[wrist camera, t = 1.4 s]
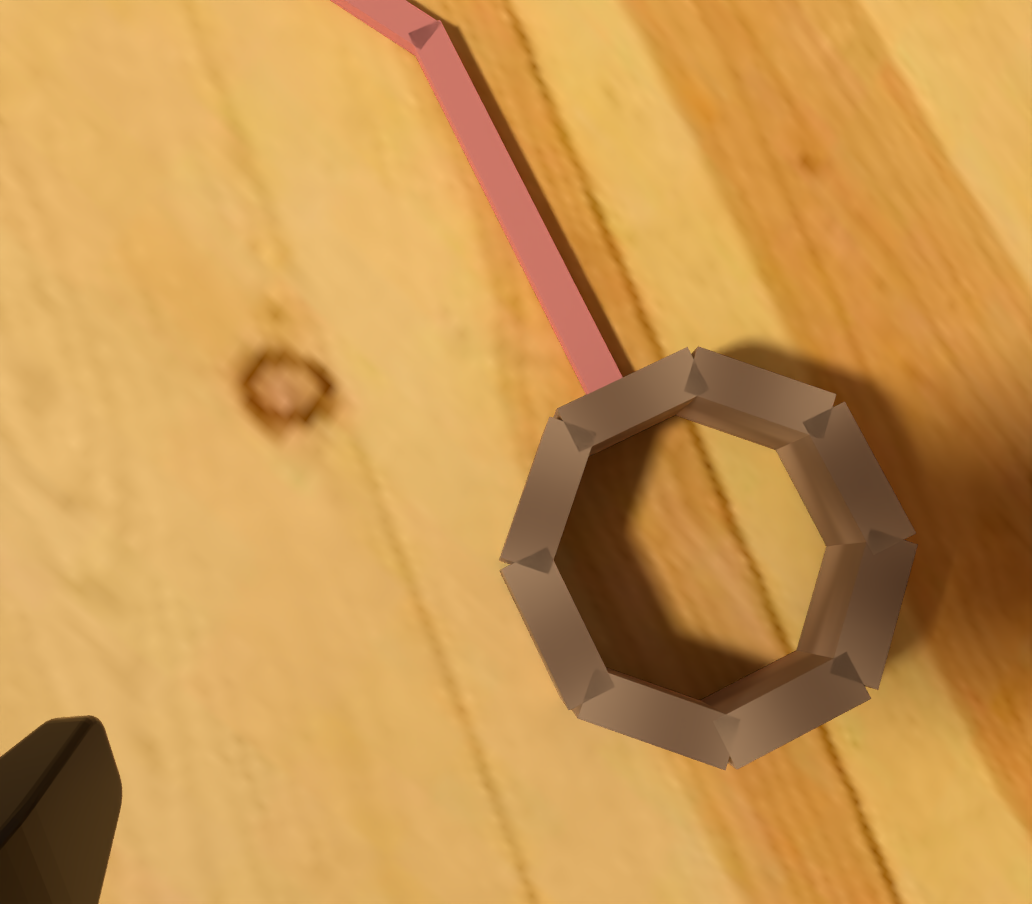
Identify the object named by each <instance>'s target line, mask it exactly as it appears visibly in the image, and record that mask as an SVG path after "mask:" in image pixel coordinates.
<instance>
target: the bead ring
mask: <svg viewBox="0 0 1032 904" xmlns="http://www.w3.org/2000/svg"><path fill="white" fill-rule="evenodd" d="M835 397H836V394H834V393H831V392H828V391H825V390H823V389H820V388H817V387H814V386H811V385H808V384H805V383H802V382H799V381H797V380H794V379H791V378H788V377H785V376H782V375H779V374H776V373H773V372H771V371H768V370H765V369H762V368H759V367H756V366H753V365H750V364H747V363H744V362H742V361H739V360H736V359H733V358H730V357H727V356H724V355H721V354H718V353H716V352H713V351H710V350H707V349H704V348H701V347H697V348H696V349H695V351H694V352H693V353H692V354H691V353H690V351H689V349H688V347H686V348H684V349H682V350H680V351H678V352H676V353H674V354H672V355H669V356H667V357H665V358H663V359H661V360H659V361H657V362H655V363H653V364H650V365H648V366H646V367H644V368H642V369H640V370H638V371H636V372H633V373H631V374H629V375H627V376H625V377H623V378H621V379H619V380H617V381H614V382H612V383H610V384H608V385H606V386H604V387H602V388H600V389H597V390H595V391H593V392H591V393H589V394H587V395H585V396H583V397H581V398H578V399H576V400H574V401H572V402H570V403H568V404H566V405H564V406H561V407H559V408H557V410H556V412H555V415H554V417H553V418H552V417H549V420H548V422H547V425H546V427H545V430H544V432H543V435H542V438H541V441H540V444H539V446H538V449H537V452H536V455H535V458H534V461H533V464H532V467H531V469H530V472H529V475H528V478H527V481H526V484H525V487H524V490H523V493H522V495H521V498H520V501H519V504H518V507H517V510H516V513H515V516H514V518H513V521H512V524H511V527H510V530H509V533H508V536H507V539H506V542H505V544H504V547H503V550H502V553H501V556H500V559H499V561H502V562H505V563H508V564H511V565H509V566H507V567H505V568H503V569H501V570H500V573H501V575H502V577H503V579H504V581H505V583H506V585H507V587H508V589H509V591H510V594H511V596H512V598H513V600H514V602H515V604H516V606H517V608H518V610H519V612H520V614H521V617H522V619H523V621H524V623H525V625H526V627H527V629H528V631H529V633H530V635H531V637H532V640H533V642H534V644H535V646H536V648H537V650H538V652H539V654H540V656H541V658H542V660H543V663H544V665H545V667H546V669H547V671H548V673H549V675H550V677H551V679H552V681H553V683H554V686H555V688H556V690H557V692H558V694H559V696H560V698H561V699H562V701H563V702H564V704H565V705H566V706H567V708H568V709H569V710H571V709H572V711H573V712H574V714H575V715H576V716H577V718H578V719H581V720H584V721H587V722H590V723H592V724H595V725H598V726H601V727H604V728H607V729H609V730H612V731H615V732H618V733H621V734H624V735H626V736H629V737H632V738H635V739H638V740H641V741H644V742H646V743H649V744H652V745H655V746H658V747H661V748H663V749H666V750H669V751H672V752H675V753H678V754H680V755H683V756H686V757H689V758H692V759H695V760H697V761H700V762H703V763H706V764H709V765H712V766H714V767H717V768H720V769H723V770H726V767H727V763H729V764H730V765H732V766H733V767H734V768H736V769H739V768H741V767H743V766H745V765H746V764H748V763H750V762H752V761H754V760H756V759H758V758H760V757H762V756H764V755H765V754H767V753H769V752H771V751H773V750H775V749H777V748H779V747H781V746H782V745H784V744H786V743H788V742H790V741H792V740H794V739H796V738H798V737H799V736H801V735H803V734H805V733H807V732H809V731H811V730H813V729H815V728H817V727H818V726H820V725H822V724H824V723H826V722H828V721H830V720H832V719H834V718H835V717H837V716H839V715H841V714H843V713H845V712H847V711H849V710H851V709H852V708H854V707H856V706H858V705H860V704H862V703H864V702H866V701H868V700H870V699H871V697H870V696H869V694H868V692H867V690H866V688H865V686H866V687H870V688H874V689H877V690H878V689H879V685H880V681H881V678H882V674H883V670H884V667H885V663H886V659H887V656H888V652H889V648H890V644H891V641H892V637H893V633H894V630H895V626H896V622H897V619H898V615H899V611H900V608H901V604H902V600H903V597H904V593H905V589H906V586H907V582H908V578H909V575H910V571H911V567H912V564H913V560H914V556H915V553H916V549H917V545H918V544H915V543H912V542H909V541H906V540H904V539H906V538H908V537H910V536H912V535H914V534H916V532H915V530H914V528H913V526H912V525H911V523H910V521H909V519H908V517H907V515H906V513H905V512H904V510H903V508H902V506H901V504H900V502H899V501H898V499H897V497H896V495H895V493H894V491H893V489H892V488H891V486H890V484H889V482H888V480H887V478H886V477H885V475H884V473H883V471H882V469H881V467H880V466H879V464H878V462H877V460H876V458H875V456H874V454H873V453H872V451H871V449H870V447H869V445H868V443H867V442H866V440H865V438H864V436H863V434H862V432H861V430H860V429H859V427H858V425H857V423H856V421H855V419H854V418H853V416H852V414H851V412H850V410H849V408H848V406H847V405H846V403H845V402H843V403H841V404H839V405H837V406H835V407H833V404H834V400H835ZM832 407H833V408H832ZM675 415H676V416H679V417H682V418H685V419H688V420H691V421H694V422H696V423H699V424H702V425H705V426H708V427H711V428H714V429H717V430H719V431H722V432H725V433H728V434H731V435H734V436H737V437H740V438H743V439H745V440H748V441H751V442H754V443H757V444H760V445H763V446H766V447H769V448H771V449H774V450H776V451H777V453H778V455H779V457H780V459H781V461H782V463H783V465H784V466H785V468H786V470H787V472H788V474H789V476H790V478H791V480H792V482H793V484H794V485H795V487H796V489H797V491H798V493H799V495H800V497H801V499H802V501H803V502H804V504H805V506H806V508H807V510H808V512H809V514H810V516H811V518H812V519H813V521H814V523H815V525H816V527H817V529H818V531H819V533H820V535H821V537H822V538H823V540H824V542H825V544H826V546H827V547H826V550H825V554H824V557H823V561H822V564H821V568H820V571H819V574H818V578H817V581H816V585H815V588H814V592H813V595H812V599H811V602H810V606H809V609H808V613H807V616H806V620H805V623H804V626H803V630H802V633H801V637H800V640H799V644H798V647H797V650H796V651H794V652H793V653H791V654H789V655H787V656H785V657H783V658H781V659H779V660H777V661H775V662H773V663H771V664H769V665H767V666H765V667H764V668H762V669H760V670H758V671H756V672H754V673H752V674H750V675H748V676H746V677H744V678H742V679H740V680H738V681H736V682H735V683H733V684H731V685H729V686H727V687H725V688H723V689H721V690H719V691H717V692H715V693H713V694H711V695H709V696H707V697H706V698H704V699H702V700H698V699H695V698H692V697H689V696H686V695H683V694H681V693H678V692H675V691H672V690H669V689H666V688H663V687H661V686H658V685H655V684H652V683H649V682H646V681H644V680H641V679H638V678H635V677H632V676H629V675H626V674H624V673H621V672H618V671H615V670H612V669H609V668H607V667H605V665H604V663H603V661H602V659H601V657H600V655H599V653H598V651H597V649H596V647H595V644H594V642H593V640H592V638H591V636H590V634H589V632H588V630H587V628H586V626H585V624H584V622H583V620H582V618H581V616H580V614H579V612H578V610H577V607H576V605H575V603H574V601H573V599H572V597H571V595H570V593H569V591H568V589H567V587H566V585H565V583H564V581H563V579H562V577H561V575H560V573H559V571H558V568H557V566H556V564H555V562H554V557H555V554H556V551H557V548H558V545H559V542H560V540H561V537H562V534H563V531H564V528H565V525H566V522H567V519H568V516H569V513H570V510H571V507H572V504H573V501H574V498H575V495H576V492H577V489H578V486H579V483H580V480H581V477H582V474H583V471H584V468H585V465H586V462H587V459H588V457H589V456H591V455H593V454H595V453H598V452H600V451H602V450H604V449H606V448H608V447H610V446H612V445H614V444H616V443H618V442H620V441H623V440H625V439H627V438H629V437H631V436H633V435H635V434H637V433H639V432H641V431H643V430H645V429H648V428H650V427H652V426H654V425H656V424H658V423H660V422H662V421H664V420H666V419H668V418H670V417H673V416H675Z"/></svg>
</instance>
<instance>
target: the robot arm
mask: <svg viewBox="0 0 1032 904" xmlns="http://www.w3.org/2000/svg"><path fill="white" fill-rule="evenodd" d="M121 803H122V784H121V779H120V775H119V772H118V769H117V766H116V762H115V759H114V756H113V753H112V750H111V747H110V744H109V741H108V737H107V734H106V731H105V728H104V726H103V724H102V722H101V721H100V720H99V719H98V718H96V717H94V716H89V715H88V716H75V717H62V718H55V719H51V720H49V721H47V722H45V723H44V724H42V725H41V726H39V727H38V728H37V729H36V730H34V731H33V732H32V733H30V734H29V735H28V736H27V737H25V738H24V739H23V740H21V741H20V742H19V743H18V744H16V745H15V746H14V747H12V748H11V749H10V750H9V751H7V752H6V753H5V754H4V755H2V756H1V757H0V904H98V903H99V899H100V894H101V890H102V886H103V882H104V877H105V873H106V869H107V865H108V860H109V856H110V852H111V847H112V843H113V839H114V835H115V830H116V826H117V822H118V817H119V813H120V809H121Z"/></svg>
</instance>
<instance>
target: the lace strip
mask: <svg viewBox="0 0 1032 904" xmlns="http://www.w3.org/2000/svg"><path fill="white" fill-rule="evenodd" d="M331 1H332V2H334V3H335V4H337V5H338V6H340V7H341V8H343V9H344V10H346V11H347V12H349V13H351V14H352V15H354V16H355V17H357V18H358V19H360V20H361V21H363V22H364V23H366V24H367V25H369V26H370V27H372V28H374V29H375V30H377V31H378V32H380V33H381V34H383V35H384V36H386V37H387V38H389V39H390V40H392V41H393V42H395V43H397V44H398V45H400V46H401V47H403V48H404V49H406V50H407V51H409V52H410V53H412V54H413V55H415V56H416V58H417V60H418V62H419V64H420V66H421V68H422V70H423V72H424V74H425V76H426V78H427V80H428V82H429V84H430V86H431V88H432V90H433V92H434V94H435V96H436V98H437V100H438V101H439V103H440V105H441V107H442V109H443V111H444V113H445V115H446V117H447V119H448V121H449V123H450V125H451V127H452V129H453V131H454V133H455V135H456V137H457V139H458V141H459V143H460V145H461V147H462V149H463V151H464V153H465V155H466V157H467V159H468V161H469V163H470V165H471V167H472V169H473V171H474V173H475V175H476V177H477V179H478V181H479V183H480V185H481V187H482V189H483V191H484V193H485V195H486V197H487V199H488V201H489V203H490V205H491V207H492V209H493V211H494V213H495V215H496V217H497V219H498V221H499V223H500V225H501V227H502V229H503V230H504V232H505V234H506V236H507V238H508V240H509V242H510V244H511V246H512V248H513V250H514V252H515V254H516V256H517V258H518V260H519V262H520V264H521V266H522V268H523V270H524V272H525V274H526V276H527V278H528V280H529V282H530V284H531V286H532V288H533V290H534V292H535V294H536V296H537V298H538V300H539V302H540V304H541V306H542V308H543V310H544V312H545V314H546V316H547V318H548V320H549V322H550V324H551V326H552V328H553V330H554V332H555V334H556V336H557V338H558V340H559V342H560V344H561V346H562V348H563V350H564V352H565V354H566V356H567V358H568V360H569V361H570V363H571V365H572V367H573V369H574V371H575V373H576V375H577V377H578V379H579V381H580V383H581V385H582V387H583V389H584V391H585V393H586V395H587V394H589V393H591V392H593V391H595V390H597V389H600V388H602V387H604V386H606V385H608V384H610V383H612V382H614V381H617V380H619V379H621V378H623V377H622V375H621V373H620V371H619V369H618V367H617V365H616V363H615V361H614V359H613V357H612V355H611V353H610V352H609V350H608V348H607V346H606V344H605V342H604V340H603V338H602V336H601V334H600V332H599V330H598V328H597V326H596V324H595V322H594V320H593V318H592V316H591V314H590V312H589V310H588V308H587V306H586V305H585V303H584V301H583V299H582V297H581V295H580V293H579V291H578V289H577V287H576V285H575V283H574V281H573V279H572V277H571V275H570V273H569V271H568V269H567V267H566V265H565V263H564V261H563V259H562V258H561V256H560V254H559V252H558V250H557V248H556V246H555V244H554V242H553V240H552V238H551V236H550V234H549V232H548V230H547V228H546V226H545V224H544V222H543V220H542V218H541V216H540V214H539V212H538V211H537V209H536V207H535V205H534V203H533V201H532V199H531V197H530V195H529V193H528V191H527V189H526V187H525V185H524V183H523V181H522V179H521V177H520V175H519V173H518V171H517V169H516V167H515V165H514V164H513V162H512V160H511V158H510V156H509V154H508V152H507V150H506V148H505V146H504V144H503V142H502V140H501V138H500V136H499V134H498V132H497V130H496V128H495V126H494V124H493V122H492V120H491V118H490V117H489V115H488V113H487V111H486V109H485V107H484V105H483V103H482V101H481V99H480V97H479V95H478V93H477V91H476V89H475V87H474V85H473V83H472V81H471V79H470V77H469V75H468V73H467V71H466V70H465V68H464V66H463V64H462V62H461V60H460V58H459V56H458V54H457V52H456V50H455V48H454V46H453V44H452V42H451V40H450V38H449V36H448V34H447V32H446V30H445V28H444V26H443V24H442V23H441V21H440V20H438V21H437V20H435V19H434V18H432V17H431V16H429V15H428V14H426V13H425V12H423V11H421V10H420V9H418V8H417V7H415V6H414V5H412V4H411V3H409V2H408V1H406V0H331Z"/></svg>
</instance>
